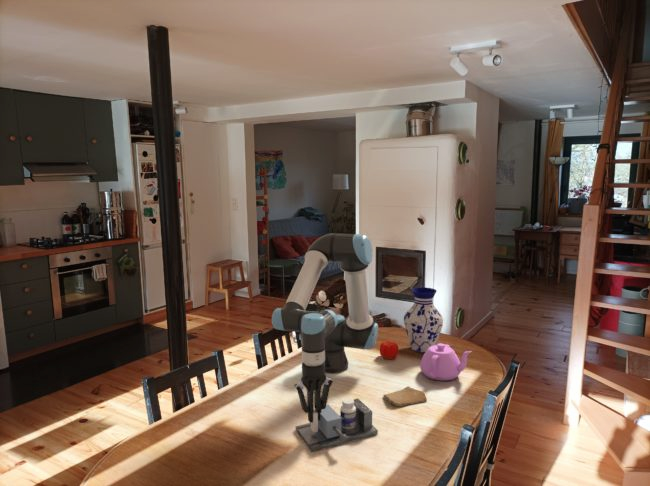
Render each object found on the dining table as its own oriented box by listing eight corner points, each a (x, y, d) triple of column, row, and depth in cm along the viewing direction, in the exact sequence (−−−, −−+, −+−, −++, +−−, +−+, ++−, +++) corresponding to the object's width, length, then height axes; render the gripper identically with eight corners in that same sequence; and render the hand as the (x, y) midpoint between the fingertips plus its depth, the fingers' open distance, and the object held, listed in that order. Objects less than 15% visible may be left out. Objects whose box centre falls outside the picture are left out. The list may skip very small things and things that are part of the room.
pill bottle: (339, 421, 163) (339, 397, 161) (354, 420, 163) (354, 396, 162) (341, 429, 157) (341, 404, 156) (356, 429, 158) (356, 404, 156)
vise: (295, 430, 160) (295, 409, 159) (357, 415, 170) (357, 395, 169) (311, 452, 147) (311, 429, 146) (377, 434, 157) (377, 413, 156)
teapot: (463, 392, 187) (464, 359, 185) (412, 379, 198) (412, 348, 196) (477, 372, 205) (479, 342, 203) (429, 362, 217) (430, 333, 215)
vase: (395, 349, 233) (396, 290, 228) (416, 339, 246) (417, 283, 242) (429, 359, 220) (431, 297, 215) (449, 348, 234) (451, 289, 229)
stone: (428, 402, 180) (428, 394, 179) (392, 409, 174) (392, 401, 174) (412, 390, 190) (412, 383, 189) (378, 396, 184) (378, 389, 184)
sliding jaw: (315, 424, 160) (314, 407, 160) (328, 420, 162) (328, 404, 162) (337, 451, 145) (337, 433, 144) (352, 447, 147) (352, 429, 146)
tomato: (385, 352, 229) (385, 337, 228) (401, 356, 224) (401, 341, 223) (375, 358, 221) (375, 343, 220) (392, 363, 216) (392, 347, 215)
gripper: (298, 369, 145) (299, 440, 149) (336, 362, 151) (337, 431, 154) (290, 361, 152) (291, 429, 156) (327, 354, 157) (327, 420, 161)
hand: (314, 430), depth 155 cm, fingers closed
